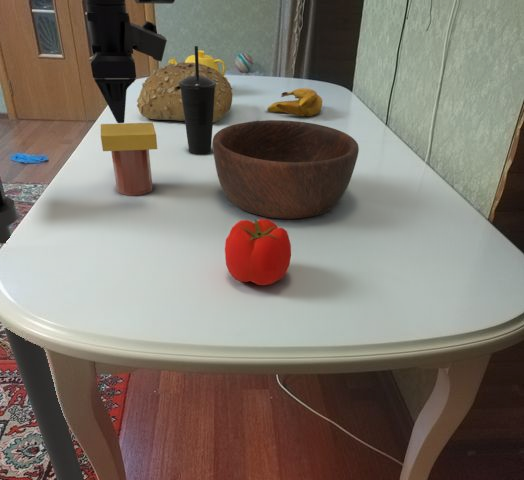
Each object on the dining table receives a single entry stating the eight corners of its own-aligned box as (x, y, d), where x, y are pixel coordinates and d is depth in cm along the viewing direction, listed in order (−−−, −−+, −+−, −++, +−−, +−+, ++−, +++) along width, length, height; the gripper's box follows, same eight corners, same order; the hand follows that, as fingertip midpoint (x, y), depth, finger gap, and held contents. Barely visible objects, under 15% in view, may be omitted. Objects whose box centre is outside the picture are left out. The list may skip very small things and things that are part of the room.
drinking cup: (223, 149, 113) (222, 46, 100) (206, 159, 107) (203, 51, 95) (194, 143, 115) (189, 41, 103) (175, 152, 110) (168, 46, 97)
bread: (235, 106, 143) (235, 58, 136) (229, 127, 126) (229, 73, 119) (149, 102, 143) (145, 53, 136) (132, 122, 126) (125, 68, 119)
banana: (316, 103, 149) (318, 82, 145) (326, 121, 134) (329, 98, 131) (264, 102, 148) (265, 80, 144) (269, 120, 133) (270, 96, 130)
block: (102, 151, 84) (100, 135, 83) (102, 138, 90) (100, 123, 88) (157, 149, 86) (156, 134, 85) (154, 137, 92) (152, 122, 90)
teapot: (208, 85, 162) (207, 45, 155) (232, 94, 154) (232, 52, 147) (169, 90, 155) (165, 48, 148) (191, 99, 147) (189, 56, 140)
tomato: (220, 263, 73) (219, 214, 68) (280, 259, 74) (283, 210, 70) (232, 299, 66) (232, 246, 61) (298, 292, 67) (302, 241, 63)
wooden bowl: (329, 172, 104) (335, 119, 98) (369, 224, 85) (380, 162, 78) (207, 174, 100) (206, 119, 94) (221, 230, 81) (220, 166, 75)
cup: (117, 196, 90) (110, 150, 85) (116, 183, 95) (110, 139, 90) (153, 194, 91) (149, 149, 86) (151, 181, 96) (146, 137, 91)
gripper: (166, 11, 70) (174, 130, 80) (155, -1, 84) (163, 101, 94) (82, 9, 68) (100, 132, 77) (86, -3, 82) (101, 102, 91)
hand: (120, 115), depth 85 cm, fingers open, 9 cm apart
